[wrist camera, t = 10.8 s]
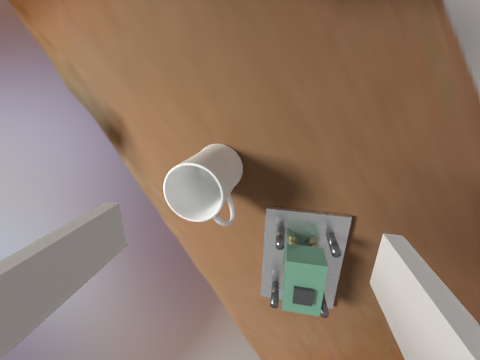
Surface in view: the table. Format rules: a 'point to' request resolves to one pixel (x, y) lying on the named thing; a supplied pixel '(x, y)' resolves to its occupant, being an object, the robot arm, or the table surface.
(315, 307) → the board
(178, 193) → the mug
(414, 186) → the table surface
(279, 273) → the chassis
